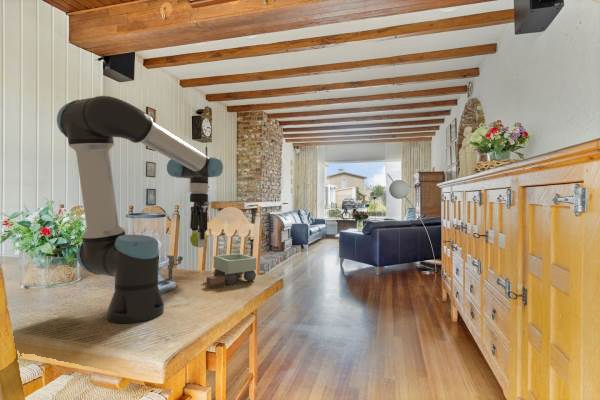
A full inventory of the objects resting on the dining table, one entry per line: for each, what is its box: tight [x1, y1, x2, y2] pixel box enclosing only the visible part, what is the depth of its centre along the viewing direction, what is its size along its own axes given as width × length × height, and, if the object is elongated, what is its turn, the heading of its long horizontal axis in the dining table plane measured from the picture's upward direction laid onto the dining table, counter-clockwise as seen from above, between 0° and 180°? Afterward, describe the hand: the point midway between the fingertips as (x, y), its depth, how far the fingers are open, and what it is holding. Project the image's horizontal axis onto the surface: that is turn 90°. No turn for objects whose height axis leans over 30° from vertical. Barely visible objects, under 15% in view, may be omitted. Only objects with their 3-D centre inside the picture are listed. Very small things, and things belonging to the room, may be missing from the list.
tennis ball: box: [189, 232, 207, 248], centre depth 139 cm, size 7×7×7 cm
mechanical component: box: [166, 254, 184, 280], centre depth 141 cm, size 3×10×10 cm, turn 89°
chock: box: [206, 275, 226, 290], centre depth 129 cm, size 4×6×4 cm, turn 130°
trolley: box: [213, 253, 257, 285], centre depth 140 cm, size 15×14×10 cm
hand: (198, 246), depth 139 cm, fingers closed on tennis ball, 7 cm apart
